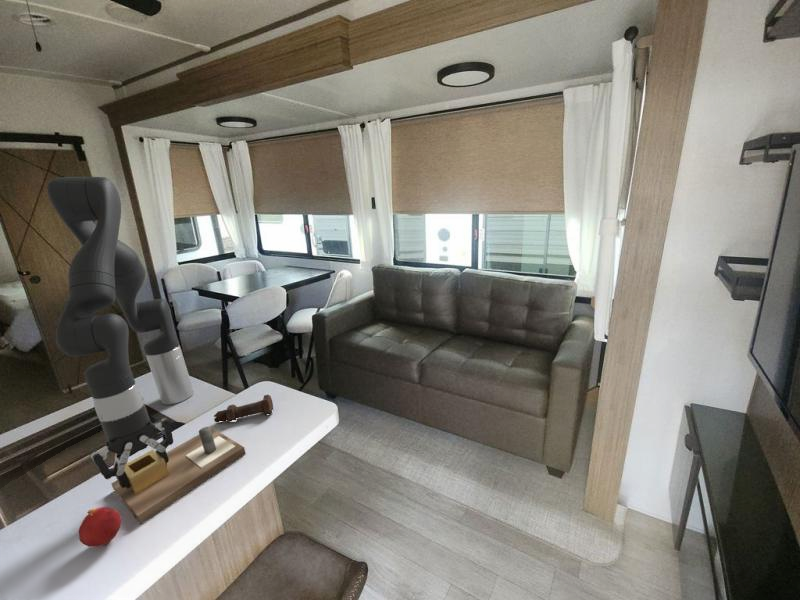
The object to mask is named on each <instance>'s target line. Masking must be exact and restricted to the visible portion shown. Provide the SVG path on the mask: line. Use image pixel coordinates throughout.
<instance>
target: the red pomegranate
mask: <svg viewBox="0 0 800 600" xmlns="http://www.w3.org/2000/svg"><path fill="white" fill-rule="evenodd" d="M121 527H122V516H121V514H120V512H119V511H118V510H117V509H114V508H112V507H108V506H103V507H97V508H95V507H93V508H90V509H89V510H88V511H87V515H86V516H85V517H84V518H83V520H82V522H81V523H80V526H79V528H78V539H79V542H81V544H82V545H84V546H86V547H100V546H105V545H106V546H107V545H108V544H109V543H110V542H112V541H113V539H114V538H115V537H116V536H117V534H118V533H119V531H120V529H121Z"/></svg>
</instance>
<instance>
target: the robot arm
mask: <svg viewBox="0 0 800 600" xmlns="http://www.w3.org/2000/svg"><path fill="white" fill-rule="evenodd" d="M46 189H47V190H46V191H47V196H48V198H49V201H50V203H51V205H52V206H53V208H54V211H56V213H57V214H58V216H59V217H60V219H61V221H63V223H64V224H65V225H66V226H67V228H68V229H69V230H70V232H71V233H72V234H73V235H74V237H76V239H77V240H78V242H79V243H80V244H81V247H80V248H79V250H78V251H77V252H76V254H75V255H74V257H73V259H72V260H71V261H70V265H69V270H68V297H67V298H68V299H67V301H66V303H65V306H64V308H63V312H62V314H61V316H60V319H59V321H58V323H57V327H56V331H55V343H56V345H57V347H58V349H59V350H60V352H62V353H63V354H64V355H67V356H69V357H83V356H86V355H90V354H97V353H101V352H102V353H103V352H107V358H106V359H104V360H100V361H98V362H96V363H94V364H92V365H90V366H88V367H87V368H86V369H85V371H84V373H83V374H84V379H85V382H86V385H87V387H88V390H89V392H90V395H91V398H92V401H93V405H94V406H93V407H94V410H95V413H96V415H97V417H98V421H99V424H100V426H101V428H102V431H103V433H104V436H105V438H106V445H105V446H103V447H102V448H100V449H99V450H93V451H91V452H90V454H89V457H90V458H91V459H92V460H91V461H92V462H93V463H94V464H95V466H96V468H97V469H98V471H99V473H100V474H101V475H102V477H104V479H105V480H110V479H111V478H112V477H113V478H114V477H115V478H116V479H117V480H118V483H119V485H120V486H121V487H122V488H125V487H126V488H127V489H128V488H130V487H131V486H130V483H129V481H128V478H127V476H126V475H127V474H126V472H125V471H124V469H125V465H126V464H127V463H129V462H128V461H129V457H131V456H133V455H135V454H136V453H138V452H139V451H143V450H145V449H147V448H148V446H149V447H151V448H152V449H153V450H155V452H156V453H157V454H158V455H159V456H161V457H162V458H163V459H164V460H165V463H166V466H167V462H168V461H169V459H168V456H167V451H166V450H167V448H168V447H169V446H171V445H172V444H174V437H173V431H172V426H171V422H170V420H169V419H167V418H166V417H164V416H163V417H161V418H160V419H159V420H158V421H155V422H152V421H151V418H150V415H149V413H148V409H147V408H146V404H145V400H144V397H143V395H142V393H141V391H140V389H139V387H138V385H137V383H136V381H135V377H134V375H133V371H132V370H131V366H130V358H129V357H130V356H129V340H130V339H129V337H130V335H129V334H130V332H129V331H130V330H129V327H130V328H131V330H132V331H134V332H135V333H138V334H139V333H140V334H141V333H143V334H144V333H148V332H153V331H156V330H162V332H161V333H160V334H159V335H157V336H155V338H153V339H151V340H149V341H148V342H146V343H145V344H144V345H143V350H144V354H145V357H146V360H147V362H148V366H149V369H150V372H151V375H152V378H153V381H154V384H155V386H156V390H157V392H158V396H159V399H160V403H161V404H163V405H165V406H166V405H167V406H168V405H176V404H178V403H181V402H183V401H185V400H186V401H187V400H188V399H189V398H190V397H192V396H193V395H194V393H195V391H194V388H193V385H192V382H191V378H190V374H189V371H188V368H187V365H186V361H185V359H184V355H183V350H182V348H181V345H180V342H179V339H178V336H177V333H176V327H175V324H174V321H173V317H172V311H171V308H170V304H169V303H168V301H167V300H166V299H164V298H156V299H151V300H146V301H141V302H136V299H137V295H138V294H139V292H140V290H141V289H142V286H143V285H144V282H145V280H146V269H145V267H144V266H143V263H142V261H141V260H140V257H139V256H138V253H137V252H136V251H135V250H134V249H133V248H132V247H130V246H129V245H128V244H126V243H125V242H122V241H121V240H120V239H119V232H120V227H121V226H120V225H121V217H122V201H121V197H120V194H119V191H118V189H117V187H116V185H115V184H114V183H113V181H112V180H111V179H110V178H107V177H104V176H65V177H64V176H63V177H61V176H60V177H55V178H52V179H50V180H49V181H48V182H47V184H46ZM94 221H97V222H96V223H95V222H94ZM116 301H117V304H118V305H119V308H120V309H121V311H122V313H123V315H124V317H125V319H126V320H125V319H124V318H123V317H122V316H121V315H118V314H116V313H106V314H105V313H103V314H100V315H94V314H95V313H96V312H99V311H102V310H105V309H107V308H109V307H111V306H112V305H114V303H115V302H116ZM128 325H129V326H128ZM156 429H158V430H159V431H161V437H162V440H161V441H160V442H158V441H156V439H154V438H153V436H154V433H155V430H156ZM109 452H110V453H114V454H115V457H114V464H113V467H111V468H109V466H108V465H107V463H106V462H105V460H107V458H108V453H109ZM117 480H116V481H117Z"/></svg>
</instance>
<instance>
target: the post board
mask: <svg viewBox="0 0 800 600" xmlns="http://www.w3.org/2000/svg"><path fill="white" fill-rule="evenodd" d="M166 453H167V456H168V459H169V461H168V462H167V469H168V472H169V475H168V476H166V477H164V478H163V479H161V480H160V481H158V482H156V483H155V484H153V485H151V486H150V487H148V488H146V489H145V490H143V491H141V492H140V493H138V494H135V493H134V492H133V491H132V490H131V489H130V488H128V489H127V488H126V487H125V488H122V487H121V486H120V485H119V483H118V480H115V481H113V482H111V484H110V485H111V486H112V489H113V490H115V491H114V493H115V494H116V493H117V494H118V495H117V494H116V495H117V496H118V497H119V499H120V498H121V499H122V500H121V499H120V500H121V502H122V503H123V504H124V505H125V506H126V507H127V509H128V510H129V512H130V513H131V514H132V515H133V516H134V517H135V519H136V520H137V521H138V523H139V524H140V525H141V524H143V523H145V522H146V521H148V520H149V519H151V518H152V517H154V516H155V515H157V514H159V513H160V512H161V511H163V510H164V509H166V508H167V507H169V506H170V505H172V504H173V503H174V502H176V501H178V500H179V499H181V498H182V497H184V496H185V495H187V494H188V493H190V492H192V491H193V490H194V489H196V488H197V487H199V486H200V485H202V484H203V483H205V482H207V481H208V480H209V479H211V478H213V476H216V475H217V474H218V473H219V472H221V471H223V470H224V469H225V468H227V467H228V466H230V465H231V464H233V463H235V462H236V461H238V460H239V459H241V458H243V457H244V456H246V455H247V454H246V449H245V447H244V446H243V445H241V444H240V443H238V442H236V441H235V440H233V439H231V438H230V437H228V436H226V435H225V434H223V433H221V432H220V431H218V430H217V429H215V428H213V427H210V426H205V427H202V428H200V429H199V430H198V434H197V435H195V436H193V437H192V438H190V439H188V440H186V441H185V442H182V443H181V444H179V445H178V446H175V447H174V448H171V450H169V451H166Z"/></svg>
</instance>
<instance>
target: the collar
mask: <svg viewBox="0 0 800 600" xmlns="http://www.w3.org/2000/svg"><path fill="white" fill-rule="evenodd" d="M124 471H125V472H126V474H127V475H126V476H127V478H128V481H129V483H130V486H131V487H130V489H131V490H132V491H133V492H134V493H135V494H138V493H140V492H141V491H143V490H145V489H146V488H148V487H150V486H151V485H153V484H155V483H156V482H158V481H160V480H161V479H163V478H164V477H166V476H168V475H169V472H168V469H167V466H166V463H165V460H164V459H163V458H162V457H161V456H159V455H158V454H157V453H156V450H155V449H151V450H150V451H148V452H146V453H144V454H141V456H138V457H136V458H135V459H133V460H131V461H129V462H127V464H126V465H125V469H124Z"/></svg>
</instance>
